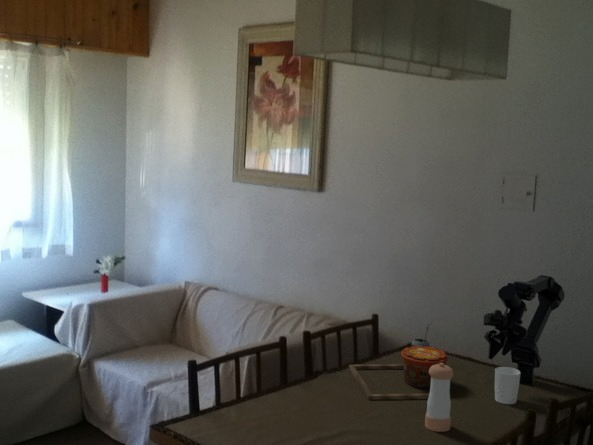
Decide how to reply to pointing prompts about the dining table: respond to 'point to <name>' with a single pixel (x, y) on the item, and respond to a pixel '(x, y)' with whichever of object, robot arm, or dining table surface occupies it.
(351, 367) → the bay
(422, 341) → the mate gourd
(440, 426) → the pepper shaker
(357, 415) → the dining table surface
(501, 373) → the white cup
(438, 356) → the food container
